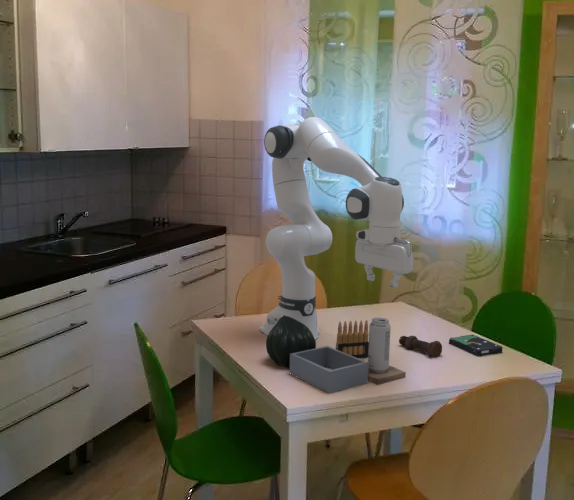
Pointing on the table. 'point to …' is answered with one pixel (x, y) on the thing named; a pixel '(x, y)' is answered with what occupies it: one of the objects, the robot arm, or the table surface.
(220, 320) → the table surface
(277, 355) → the squash
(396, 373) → the walnut pad
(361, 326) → the ammunition clip
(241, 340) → the table surface
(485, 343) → the disk drive
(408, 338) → the bolt
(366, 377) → the grey rectangular open frame
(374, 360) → the energy drink can
